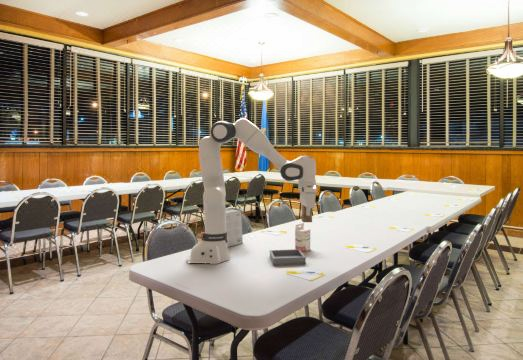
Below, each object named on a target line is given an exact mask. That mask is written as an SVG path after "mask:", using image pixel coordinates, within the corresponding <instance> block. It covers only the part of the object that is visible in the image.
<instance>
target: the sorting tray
mask: <svg viewBox="0 0 523 360" xmlns="http://www.w3.org/2000/svg"><path fill="white" fill-rule="evenodd" d="M306 258H307V257H306V256H305V254H304V252H301V250H300V249H295V248H294V249H293V248H292V249H270V250H269V259H270V260H271V261H270V262H271V264H272V266H273V267H274V266H292V265H293V266H295V265H306Z"/></svg>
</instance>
